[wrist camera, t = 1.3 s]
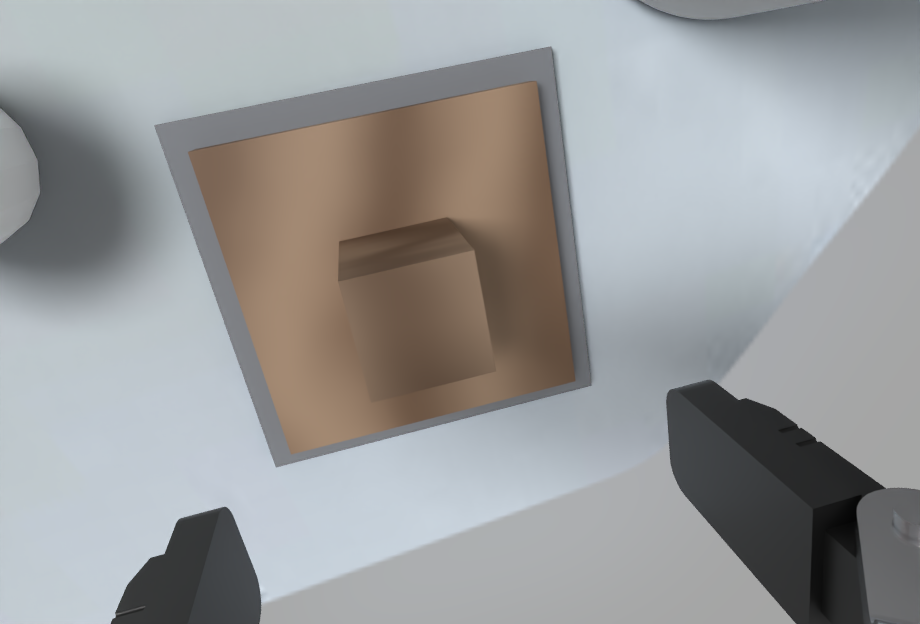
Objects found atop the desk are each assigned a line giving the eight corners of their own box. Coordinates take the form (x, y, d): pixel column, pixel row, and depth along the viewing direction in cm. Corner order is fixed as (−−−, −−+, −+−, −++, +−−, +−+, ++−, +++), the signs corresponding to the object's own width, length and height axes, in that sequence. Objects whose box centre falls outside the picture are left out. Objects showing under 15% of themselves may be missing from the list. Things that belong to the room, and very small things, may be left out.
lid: (528, 81, 22) (590, 78, 17) (567, 371, 27) (626, 445, 21) (194, 149, 21) (141, 170, 15) (293, 441, 25) (278, 539, 20)
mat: (546, 47, 22) (551, 46, 22) (586, 379, 28) (591, 385, 27) (159, 124, 21) (154, 125, 21) (277, 459, 26) (275, 467, 26)
